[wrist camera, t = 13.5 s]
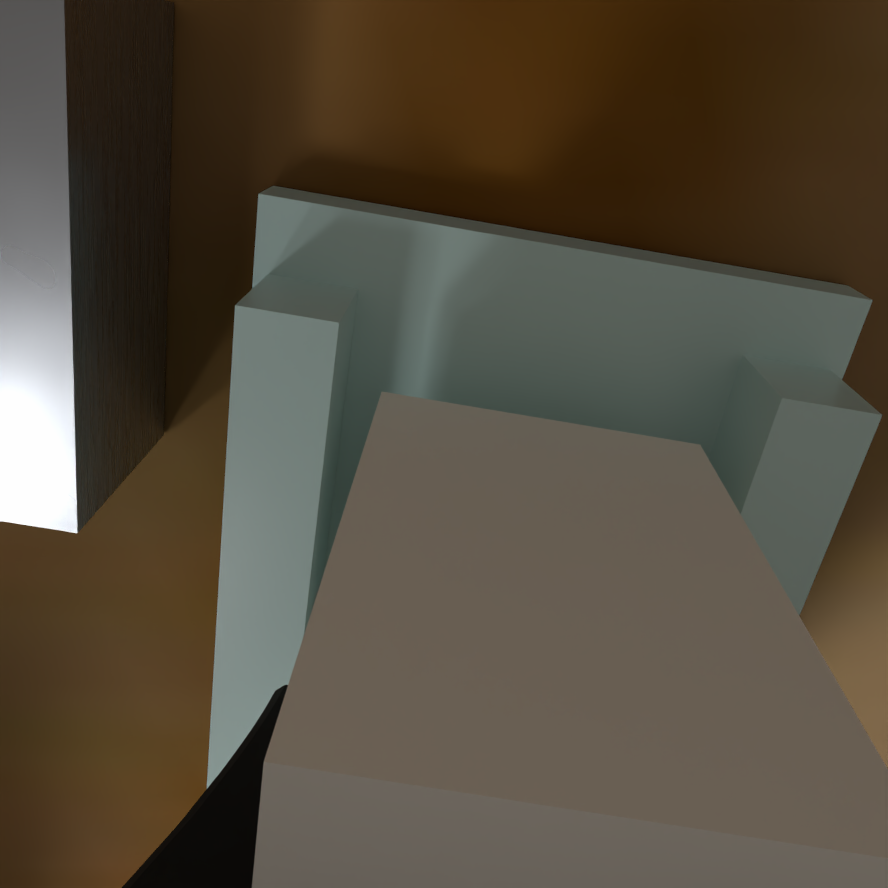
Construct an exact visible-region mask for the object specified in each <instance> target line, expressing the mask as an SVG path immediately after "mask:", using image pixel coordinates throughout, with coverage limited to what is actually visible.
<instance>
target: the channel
mask: <svg viewBox="0 0 888 888" xmlns="http://www.w3.org/2000/svg"><path fill="white" fill-rule="evenodd" d="M173 32H174V2H170V1H165V0H0V521H4V522H11V523H17V524H23V525H29V526H35V527H41V528H48V529H54V530H60V531H66V532H72V533H78V532H79V531H80V530H81V529H82V528H83V526H84V525H85V524H86V523H87V522H88V521H89V520H90V518H91V517H92V516H93V515H94V514H95V513H96V512H97V510H98V509H99V508H100V507H101V506H102V505H103V504H104V503H105V501H106V500H107V499H108V498H109V497H110V496H111V495H112V493H113V492H114V491H115V490H116V489H117V488H118V487H119V485H120V484H121V483H122V482H123V481H124V480H125V479H126V477H127V476H128V475H129V474H130V473H131V472H132V471H133V469H134V468H135V467H136V466H137V465H138V464H139V463H140V462H141V460H142V459H143V458H144V457H145V456H146V455H147V454H148V452H149V451H150V450H151V449H152V448H153V447H154V446H155V444H156V443H157V442H158V441H159V440H160V439H161V438H162V436H163V435H164V410H165V368H166V326H167V284H168V242H169V200H170V158H171V116H172V74H173Z"/></svg>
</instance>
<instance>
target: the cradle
mask: <svg viewBox="0 0 888 888" xmlns="http://www.w3.org/2000/svg"><path fill="white" fill-rule="evenodd" d="M872 301H873V300H872V299H870V298H868V297H866V296H865V295H863V294H861V293H860V292H858V291H856V290H855V289H853V288H851V287H850V286H848V285H842V284H836V283H830V282H825V281H819V280H813V279H807V278H802V277H796V276H790V275H784V274H779V273H773V272H767V271H761V270H756V269H750V268H744V267H738V266H733V265H727V264H721V263H715V262H710V261H704V260H698V259H692V258H687V257H681V256H675V255H669V254H664V253H658V252H652V251H646V250H641V249H635V248H629V247H623V246H618V245H612V244H606V243H600V242H595V241H589V240H583V239H577V238H571V237H566V236H560V235H554V234H548V233H543V232H537V231H531V230H525V229H520V228H514V227H508V226H502V225H497V224H491V223H485V222H479V221H474V220H468V219H462V218H456V217H451V216H445V215H439V214H433V213H428V212H422V211H416V210H410V209H405V208H399V207H393V206H387V205H382V204H376V203H370V202H364V201H359V200H353V199H347V198H341V197H336V196H330V195H324V194H318V193H313V192H307V191H301V190H295V189H290V188H284V187H278V186H271V187H270V188H268V189H266V190H264V191H262V192H261V193H259V194H258V208H257V223H256V238H255V253H254V267H253V282H252V290H251V291H250V292H248V293H247V294H246V295H245V296H244V297H243V298H242V299H241V300H240V301H239V302H238V303H237V304H236V305H235V315H234V332H233V349H232V366H231V383H230V400H229V417H228V434H227V451H226V468H225V485H224V502H223V519H222V536H221V554H220V571H219V588H218V605H217V622H216V639H215V656H214V673H213V690H212V707H211V724H210V741H209V758H208V775H207V788H208V787H209V786H210V785H211V783H212V782H213V781H214V779H215V778H216V777H217V776H218V774H219V773H220V772H221V771H222V769H223V768H224V767H225V765H226V764H227V763H228V761H229V760H230V759H231V757H232V756H233V754H234V753H235V752H236V750H237V749H238V748H239V746H240V745H241V744H242V742H243V741H244V739H245V738H246V736H247V735H248V734H249V732H250V731H251V729H252V728H253V726H254V725H255V723H256V722H257V720H258V719H259V717H260V715H261V714H262V712H263V711H264V709H265V708H266V706H267V704H268V702H269V701H270V699H271V697H272V695H273V694H274V692H275V690H277V689H279V688H281V687H282V686H284V685H288V684H289V681H290V678H291V675H292V671H293V668H294V665H295V662H296V659H297V656H298V653H299V649H300V646H301V643H302V640H303V637H304V634H305V631H306V627H307V624H308V621H309V618H310V615H311V612H312V609H313V605H314V602H315V599H316V596H317V593H318V590H319V587H320V583H321V580H322V577H323V574H324V571H325V568H326V565H327V562H328V558H329V555H330V552H331V549H332V546H333V543H334V540H335V536H336V533H337V530H338V527H339V524H340V521H341V518H342V514H343V511H344V508H345V505H346V502H347V499H348V496H349V492H350V489H351V486H352V483H353V480H354V477H355V474H356V470H357V467H358V464H359V461H360V458H361V455H362V452H363V448H364V445H365V442H366V439H367V436H368V433H369V430H370V427H371V423H372V420H373V417H374V414H375V411H376V408H377V405H378V401H379V398H380V395H381V392H388V393H394V394H400V395H406V396H412V397H418V398H424V399H430V400H436V401H442V402H448V403H454V404H460V405H466V406H472V407H478V408H484V409H490V410H496V411H502V412H508V413H514V414H520V415H526V416H532V417H538V418H544V419H550V420H556V421H562V422H568V423H574V424H580V425H586V426H592V427H598V428H604V429H610V430H616V431H622V432H628V433H634V434H640V435H646V436H652V437H658V438H664V439H670V440H676V441H682V442H688V443H694V444H700V445H701V447H702V449H703V450H704V452H705V454H706V455H707V457H708V459H709V461H710V462H711V464H712V466H713V468H714V469H715V471H716V473H717V474H718V476H719V478H720V480H721V481H722V483H723V485H724V487H725V488H726V490H727V492H728V494H729V495H730V497H731V499H732V500H733V502H734V504H735V506H736V507H737V509H738V511H739V513H740V514H741V516H742V518H743V519H744V521H745V523H746V525H747V526H748V528H749V530H750V532H751V533H752V535H753V537H754V539H755V540H756V542H757V544H758V545H759V547H760V549H761V551H762V552H763V554H764V556H765V558H766V559H767V561H768V563H769V564H770V566H771V568H772V570H773V571H774V573H775V575H776V577H777V578H778V580H779V582H780V584H781V585H782V587H783V589H784V590H785V592H786V594H787V596H788V597H789V599H790V601H791V603H792V604H793V606H794V608H795V609H796V611H797V613H798V615H800V613H801V611H802V608H803V606H804V603H805V601H806V599H807V596H808V594H809V591H810V589H811V586H812V584H813V582H814V579H815V577H816V574H817V572H818V570H819V567H820V565H821V562H822V560H823V558H824V555H825V553H826V550H827V548H828V545H829V543H830V541H831V538H832V536H833V533H834V531H835V529H836V526H837V524H838V521H839V519H840V516H841V514H842V512H843V509H844V507H845V504H846V502H847V500H848V497H849V495H850V492H851V490H852V488H853V485H854V483H855V480H856V478H857V475H858V473H859V471H860V468H861V466H862V463H863V461H864V459H865V456H866V454H867V451H868V449H869V446H870V444H871V442H872V439H873V437H874V434H875V432H876V430H877V427H878V425H879V422H880V420H881V418H882V414H881V413H879V412H878V411H877V410H876V409H875V408H874V407H873V406H871V405H870V404H869V403H868V402H867V401H866V400H864V399H863V398H862V397H861V396H860V395H859V394H858V393H856V392H855V391H854V390H853V389H852V388H851V387H850V386H848V385H847V384H846V383H845V382H844V381H843V380H842V379H843V376H844V374H845V371H846V368H847V366H848V363H849V361H850V358H851V355H852V353H853V350H854V348H855V345H856V342H857V340H858V337H859V335H860V332H861V329H862V327H863V324H864V322H865V319H866V316H867V314H868V311H869V309H870V306H871V303H872Z"/></svg>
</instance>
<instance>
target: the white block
mask: <svg viewBox="0 0 888 888" xmlns="http://www.w3.org/2000/svg"><path fill="white" fill-rule="evenodd" d="M252 888H888V769H887V767H886V765H885V764H884V762H883V760H882V758H881V757H880V755H879V753H878V751H877V750H876V748H875V746H874V744H873V743H872V741H871V739H870V738H869V736H868V734H867V732H866V731H865V729H864V727H863V725H862V724H861V722H860V720H859V719H858V717H857V715H856V713H855V712H854V710H853V708H852V706H851V705H850V703H849V701H848V699H847V698H846V696H845V694H844V693H843V691H842V689H841V687H840V686H839V684H838V682H837V680H836V679H835V677H834V675H833V674H832V672H831V670H830V668H829V667H828V665H827V663H826V661H825V660H824V658H823V656H822V654H821V653H820V651H819V649H818V648H817V646H816V644H815V642H814V641H813V639H812V637H811V635H810V634H809V632H808V630H807V629H806V627H805V625H804V623H803V622H802V620H801V618H800V616H799V615H798V613H797V611H796V609H795V608H794V606H793V604H792V603H791V601H790V599H789V597H788V596H787V594H786V592H785V590H784V589H783V587H782V585H781V584H780V582H779V580H778V578H777V577H776V575H775V573H774V571H773V570H772V568H771V566H770V564H769V563H768V561H767V559H766V558H765V556H764V554H763V552H762V551H761V549H760V547H759V545H758V544H757V542H756V540H755V539H754V537H753V535H752V533H751V532H750V530H749V528H748V526H747V525H746V523H745V521H744V519H743V518H742V516H741V514H740V513H739V511H738V509H737V507H736V506H735V504H734V502H733V500H732V499H731V497H730V495H729V494H728V492H727V490H726V488H725V487H724V485H723V483H722V481H721V480H720V478H719V476H718V474H717V473H716V471H715V469H714V468H713V466H712V464H711V462H710V461H709V459H708V457H707V455H706V454H705V452H704V450H703V449H702V447H701V445H700V444H694V443H688V442H682V441H676V440H670V439H664V438H658V437H652V436H646V435H640V434H634V433H628V432H622V431H616V430H610V429H604V428H598V427H592V426H586V425H580V424H574V423H568V422H562V421H556V420H550V419H544V418H538V417H532V416H526V415H520V414H514V413H508V412H502V411H496V410H490V409H484V408H478V407H472V406H466V405H460V404H454V403H448V402H442V401H436V400H430V399H424V398H418V397H412V396H406V395H400V394H394V393H388V392H381V395H380V398H379V401H378V405H377V408H376V411H375V414H374V417H373V420H372V423H371V427H370V430H369V433H368V436H367V439H366V442H365V445H364V448H363V452H362V455H361V458H360V461H359V464H358V467H357V470H356V474H355V477H354V480H353V483H352V486H351V489H350V492H349V496H348V499H347V502H346V505H345V508H344V511H343V514H342V518H341V521H340V524H339V527H338V530H337V533H336V536H335V540H334V543H333V546H332V549H331V552H330V555H329V558H328V562H327V565H326V568H325V571H324V574H323V577H322V580H321V583H320V587H319V590H318V593H317V596H316V599H315V602H314V605H313V609H312V612H311V615H310V618H309V621H308V624H307V627H306V631H305V634H304V637H303V640H302V643H301V646H300V649H299V653H298V656H297V659H296V662H295V665H294V668H293V671H292V675H291V678H290V681H289V684H288V687H287V690H286V693H285V696H284V700H283V703H282V706H281V709H280V712H279V715H278V718H277V722H276V725H275V728H274V731H273V734H272V737H271V740H270V744H269V747H268V750H267V753H266V756H265V759H264V764H263V774H262V785H261V795H260V806H259V816H258V827H257V838H256V848H255V859H254V869H253V880H252Z"/></svg>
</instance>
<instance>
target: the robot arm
mask: <svg viewBox="0 0 888 888" xmlns="http://www.w3.org/2000/svg"><path fill="white" fill-rule="evenodd" d="M287 687H288V685H284V686H282V687H281V688H279V689H277V690H275V692H274V694H273V695H272V697H271V699H270V701H269V702H268V704H267V706H266V708H265V709H264V711H263V712H262V714H261V715H260V717H259V719H258V720H257V722H256V723H255V725H254V726H253V728H252V729H251V731H250V732H249V734H248V735H247V736H246V738H245V739H244V741H243V742H242V744H241V745H240V746H239V748H238V749H237V750H236V752H235V753H234V754H233V756H232V757H231V759H230V760H229V761H228V763H227V764H226V765H225V767H224V768H223V769H222V771H221V772H220V773H219V774H218V776H217V777H216V778H215V779H214V781H213V782H212V783H211V785H210V786H209V787H208V788H207V790H206V791H205V792H204V793H203V795H202V796H201V797H200V798H199V800H198V801H197V802H196V803H195V805H194V806H193V807H192V808H191V810H190V811H189V812H188V813H187V815H186V816H185V817H184V818H183V819H182V821H181V822H180V823H179V824H178V825H177V826H176V828H175V829H174V830H173V831H172V832H171V833H170V835H169V836H168V837H167V838H166V839H165V840H164V841H163V842H162V843H161V845H160V846H159V847H158V848H157V849H156V850H155V851H154V852H153V854H152V855H151V856H150V857H149V858H148V859H147V860H146V861H145V862H144V864H143V865H142V866H141V867H140V868H139V869H138V870H137V871H136V873H135V874H134V875H133V876H132V877H131V878H130V879H129V880H128V881H127V883H126V884H125V885H124V886H123V887H122V888H252V880H253V869H254V859H255V848H256V838H257V827H258V816H259V806H260V795H261V785H262V774H263V764H264V759H265V756H266V753H267V750H268V747H269V744H270V740H271V737H272V734H273V731H274V728H275V725H276V722H277V718H278V715H279V712H280V709H281V706H282V703H283V700H284V696H285V693H286V690H287Z"/></svg>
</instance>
